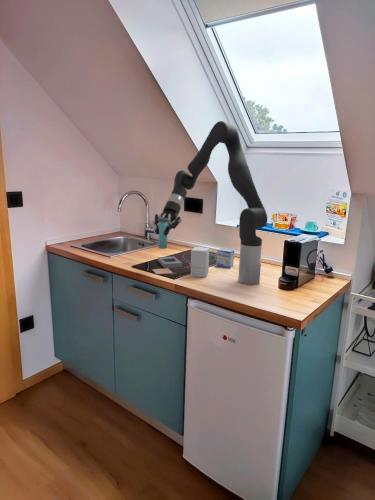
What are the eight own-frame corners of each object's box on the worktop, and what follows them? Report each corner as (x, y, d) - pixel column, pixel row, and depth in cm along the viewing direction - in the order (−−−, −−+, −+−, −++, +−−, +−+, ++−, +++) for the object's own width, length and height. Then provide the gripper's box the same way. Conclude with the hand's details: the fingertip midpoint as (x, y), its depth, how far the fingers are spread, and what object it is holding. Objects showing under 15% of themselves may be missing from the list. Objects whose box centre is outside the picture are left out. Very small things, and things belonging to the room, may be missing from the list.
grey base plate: (182, 267, 189) (182, 263, 188) (164, 269, 186) (164, 264, 185) (173, 260, 202) (174, 256, 201) (157, 261, 199) (157, 257, 198)
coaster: (172, 274, 178) (172, 272, 178) (156, 275, 176) (156, 273, 175) (168, 269, 185) (168, 268, 185) (152, 270, 183) (152, 269, 183)
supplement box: (208, 273, 181) (209, 247, 178) (205, 277, 174) (206, 251, 171) (193, 271, 183) (194, 246, 180) (189, 276, 176) (190, 249, 173)
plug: (168, 248, 176) (169, 219, 173) (159, 249, 175) (159, 219, 172) (166, 246, 181) (166, 217, 177) (156, 246, 179) (157, 217, 176)
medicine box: (215, 266, 194) (216, 249, 192) (219, 264, 198) (220, 248, 196) (230, 268, 190) (231, 251, 188) (233, 266, 194) (234, 250, 192)
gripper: (158, 199, 182) (144, 227, 174) (184, 201, 176) (171, 230, 168) (163, 209, 188) (150, 236, 180) (189, 211, 182) (176, 240, 174)
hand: (160, 233), depth 174 cm, fingers closed on plug, 4 cm apart
